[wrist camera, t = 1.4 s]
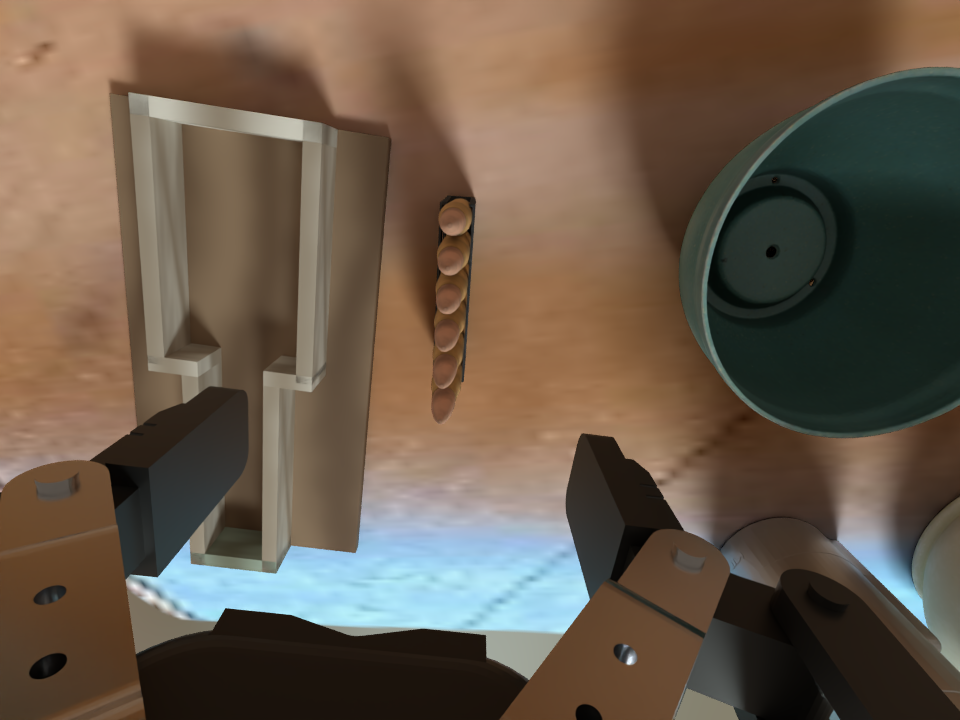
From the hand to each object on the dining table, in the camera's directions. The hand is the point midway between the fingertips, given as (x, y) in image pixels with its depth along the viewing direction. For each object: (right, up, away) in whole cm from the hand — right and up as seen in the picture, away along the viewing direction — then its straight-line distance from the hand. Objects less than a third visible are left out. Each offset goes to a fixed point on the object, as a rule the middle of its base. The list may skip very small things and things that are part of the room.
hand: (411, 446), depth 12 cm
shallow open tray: (-14, +2, +22) cm, 26 cm away
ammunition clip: (0, +7, +21) cm, 22 cm away
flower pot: (+20, +9, +20) cm, 30 cm away
